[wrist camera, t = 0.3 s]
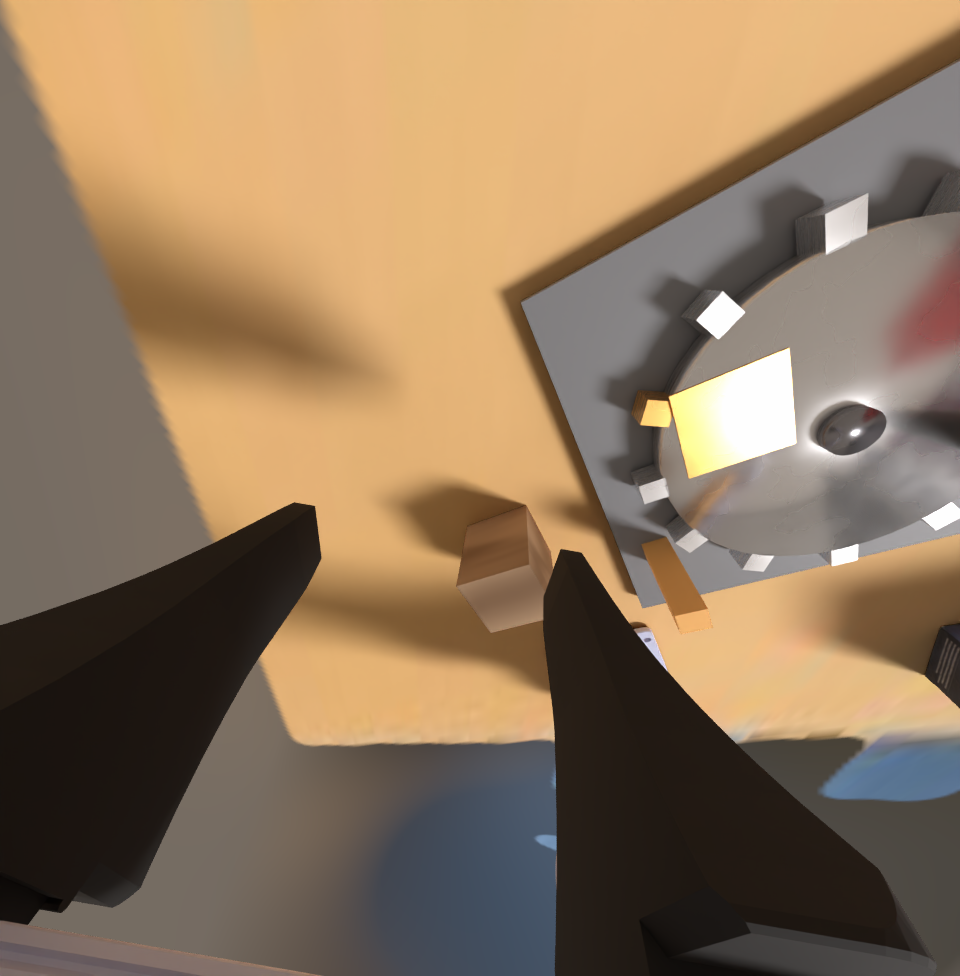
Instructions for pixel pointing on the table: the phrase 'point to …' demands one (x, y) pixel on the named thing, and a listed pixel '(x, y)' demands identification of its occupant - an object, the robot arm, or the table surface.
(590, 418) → the base plate
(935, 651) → the small box
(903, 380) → the sprocket
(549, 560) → the link block
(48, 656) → the robot arm
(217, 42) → the table surface
